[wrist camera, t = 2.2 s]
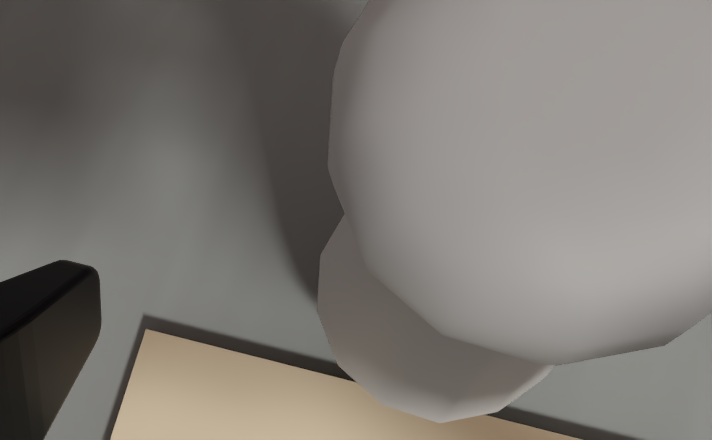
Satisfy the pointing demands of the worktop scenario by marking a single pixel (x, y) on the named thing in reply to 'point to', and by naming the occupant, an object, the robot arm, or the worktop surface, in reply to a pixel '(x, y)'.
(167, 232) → the worktop surface
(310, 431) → the board
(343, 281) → the salt shaker
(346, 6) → the worktop surface
